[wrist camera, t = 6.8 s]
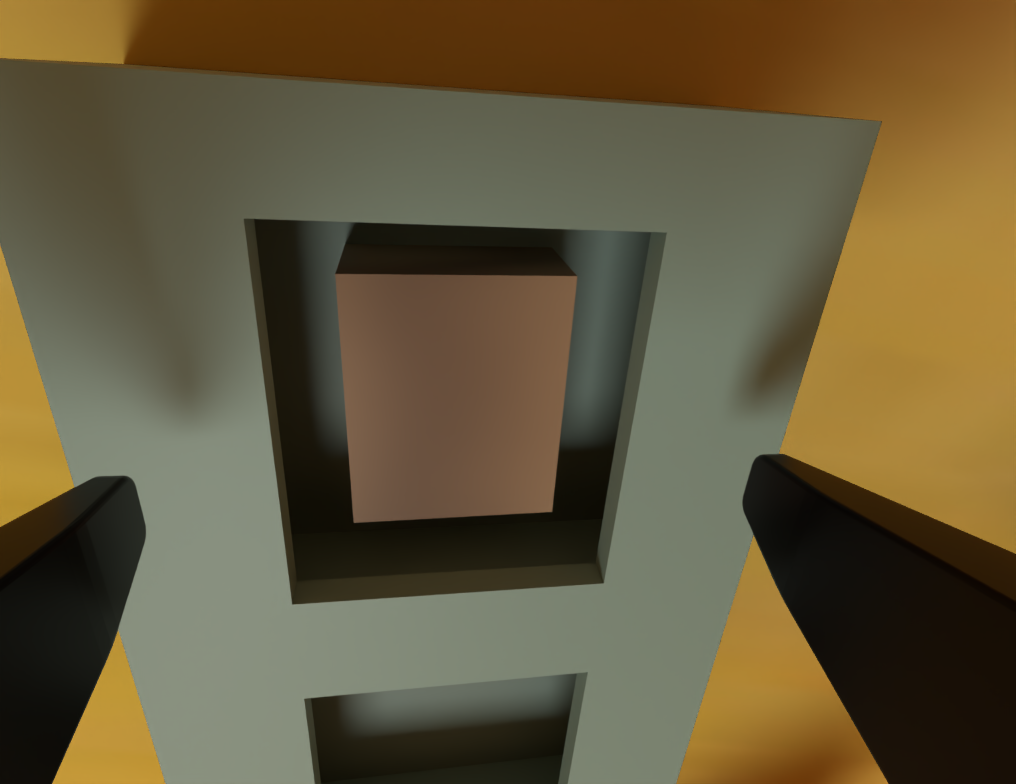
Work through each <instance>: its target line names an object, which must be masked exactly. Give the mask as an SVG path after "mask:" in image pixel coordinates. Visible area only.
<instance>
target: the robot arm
mask: <svg viewBox="0 0 1016 784" xmlns="http://www.w3.org/2000/svg"><path fill="white" fill-rule="evenodd" d="M742 506H743V511H744V514H745V516H746V519H747V521H748V523H749V525H750V528H751V530H752V532H753V534H754V537H755V539H756V541H757V543H758V546H759V548H760V550H761V552H762V555H763V557H764V559H765V561H766V564H767V566H768V568H769V570H770V573H771V575H772V577H773V579H774V582H775V584H776V586H777V588H778V590H779V592H780V594H781V596H782V598H783V600H784V602H785V604H786V605H787V607H788V609H789V611H790V613H791V614H792V616H793V618H794V620H795V621H796V623H797V625H798V627H799V628H800V630H801V632H802V634H803V635H804V637H805V639H806V641H807V642H808V644H809V646H810V647H811V649H812V651H813V653H814V654H815V656H816V658H817V660H818V661H819V663H820V665H821V667H822V668H823V670H824V672H825V674H826V675H827V677H828V679H829V681H830V682H831V684H832V686H833V688H834V689H835V691H836V693H837V695H838V696H839V698H840V700H841V702H842V703H843V705H844V707H845V709H846V710H847V712H848V714H849V715H850V717H851V719H852V721H853V722H854V724H855V726H856V728H857V729H858V731H859V733H860V735H861V736H862V738H863V740H864V742H865V743H866V745H867V747H868V749H869V750H870V752H871V754H872V756H873V757H874V759H875V761H876V763H877V764H878V766H879V768H880V770H881V771H882V773H883V775H884V777H885V778H886V780H887V782H888V784H1016V554H1015V553H1013V552H1010V551H1008V550H1006V549H1003V548H1001V547H999V546H996V545H994V544H992V543H989V542H987V541H985V540H982V539H980V538H978V537H975V536H973V535H971V534H968V533H966V532H964V531H961V530H959V529H957V528H955V527H952V526H950V525H948V524H945V523H943V522H941V521H938V520H936V519H934V518H931V517H929V516H927V515H924V514H922V513H920V512H917V511H915V510H913V509H910V508H908V507H906V506H903V505H901V504H899V503H896V502H894V501H892V500H890V499H887V498H885V497H883V496H880V495H878V494H876V493H873V492H871V491H869V490H866V489H864V488H862V487H859V486H857V485H855V484H852V483H850V482H848V481H845V480H843V479H841V478H838V477H836V476H834V475H832V474H829V473H827V472H825V471H822V470H820V469H818V468H815V467H813V466H811V465H808V464H806V463H804V462H801V461H799V460H797V459H794V458H792V457H790V456H787V455H785V454H762V455H759V456H757V457H756V458H755V459H754V461H753V463H752V466H751V470H750V473H749V477H748V480H747V484H746V487H745V490H744V494H743V499H742ZM145 539H146V524H145V520H144V516H143V512H142V508H141V504H140V500H139V496H138V492H137V488H136V485H135V483H134V481H133V479H132V478H130V477H129V476H125V475H121V476H98V477H94V478H91V479H90V480H88V481H86V482H84V483H82V484H80V485H78V486H76V487H75V488H73V489H71V490H69V491H67V492H65V493H63V494H61V495H60V496H58V497H56V498H54V499H52V500H50V501H48V502H46V503H45V504H43V505H41V506H39V507H37V508H35V509H33V510H31V511H30V512H28V513H26V514H24V515H22V516H20V517H18V518H16V519H14V520H13V521H11V522H9V523H7V524H5V525H3V526H1V527H0V784H52V783H53V780H54V778H55V776H56V774H57V771H58V769H59V767H60V765H61V762H62V760H63V758H64V756H65V753H66V751H67V749H68V747H69V744H70V742H71V740H72V737H73V735H74V733H75V731H76V728H77V726H78V724H79V722H80V719H81V717H82V715H83V713H84V710H85V708H86V706H87V704H88V701H89V699H90V697H91V695H92V692H93V690H94V688H95V686H96V683H97V681H98V679H99V677H100V674H101V672H102V670H103V667H104V665H105V663H106V660H107V658H108V656H109V653H110V651H111V648H112V646H113V643H114V640H115V637H116V634H117V631H118V628H119V625H120V622H121V618H122V615H123V612H124V609H125V606H126V602H127V599H128V596H129V593H130V589H131V586H132V583H133V580H134V576H135V573H136V570H137V567H138V563H139V560H140V557H141V554H142V550H143V547H144V544H145Z"/></svg>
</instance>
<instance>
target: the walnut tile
mask: <svg viewBox="0 0 1016 784" xmlns="http://www.w3.org/2000/svg"><path fill="white" fill-rule="evenodd" d="M335 278H336V291H337V305H338V318H339V332H340V345H341V359H342V372H343V385H344V399H345V412H346V426H347V439H348V453H349V466H350V480H351V493H352V506H353V520H354V523H361V522H379V521H397V520H415V519H433V518H450V517H468V516H486V515H504V514H522V513H540V512H552V508H553V499H554V489H555V480H556V471H557V461H558V452H559V443H560V434H561V424H562V415H563V406H564V396H565V387H566V378H567V369H568V359H569V350H570V341H571V331H572V322H573V313H574V304H575V294H576V285H577V275H576V274H575V273H574V272H573V271H572V269H571V268H570V267H569V266H568V265H567V264H566V263H565V262H564V261H563V259H562V258H561V257H560V256H559V255H558V254H557V253H556V252H555V250H554V249H553V248H552V247H495V246H435V245H375V244H345V246H344V249H343V252H342V255H341V258H340V261H339V264H338V267H337V270H336V273H335Z"/></svg>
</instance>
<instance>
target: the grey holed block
mask: <svg viewBox="0 0 1016 784" xmlns="http://www.w3.org/2000/svg"><path fill="white" fill-rule="evenodd" d="M881 123H882V121H872V120H861V119H850V118H839V117H828V116H817V115H806V114H795V113H784V112H773V111H762V110H751V109H741V108H730V107H718V106H704V105H690V104H676V103H662V102H648V101H634V100H620V99H606V98H592V97H578V96H564V95H550V94H536V93H522V92H508V91H494V90H480V89H466V88H452V87H437V86H423V85H409V84H395V83H381V82H367V81H353V80H339V79H325V78H311V77H297V76H283V75H269V74H255V73H241V72H227V71H213V70H199V69H185V68H171V67H157V66H143V65H129V64H111V63H90V62H69V61H48V60H27V59H6V58H0V245H1V248H2V251H3V254H4V258H5V261H6V264H7V267H8V271H9V274H10V277H11V281H12V284H13V287H14V290H15V294H16V297H17V300H18V303H19V307H20V310H21V313H22V316H23V320H24V323H25V326H26V330H27V333H28V336H29V339H30V343H31V346H32V349H33V352H34V356H35V359H36V362H37V365H38V369H39V372H40V375H41V378H42V382H43V385H44V388H45V392H46V395H47V398H48V401H49V405H50V408H51V411H52V414H53V418H54V421H55V424H56V427H57V431H58V434H59V437H60V440H61V444H62V447H63V450H64V454H65V457H66V460H67V463H68V467H69V470H70V473H71V476H72V480H73V483H74V486H75V487H76V486H78V485H80V484H82V483H84V482H86V481H88V480H90V479H91V478H94V477H98V476H121V475H125V476H129V477H130V478H132V479H133V481H134V483H135V485H136V488H137V492H138V496H139V500H140V504H141V508H142V512H143V516H144V520H145V524H146V539H145V544H144V547H143V550H142V554H141V557H140V560H139V563H138V567H137V570H136V573H135V576H134V580H133V583H132V586H131V589H130V593H129V596H128V599H127V602H126V606H125V609H124V612H123V615H122V618H121V622H120V625H119V628H118V630H119V633H120V636H121V640H122V643H123V646H124V649H125V653H126V656H127V659H128V662H129V666H130V669H131V672H132V675H133V679H134V682H135V685H136V689H137V692H138V695H139V698H140V702H141V705H142V708H143V711H144V715H145V718H146V721H147V724H148V728H149V731H150V734H151V738H152V741H153V744H154V747H155V751H156V754H157V757H158V760H159V764H160V767H161V770H162V773H163V777H164V780H165V783H166V784H676V782H677V779H678V776H679V773H680V769H681V766H682V763H683V760H684V757H685V753H686V750H687V747H688V744H689V741H690V737H691V734H692V731H693V728H694V724H695V721H696V718H697V715H698V712H699V708H700V705H701V702H702V699H703V695H704V692H705V689H706V686H707V683H708V679H709V676H710V673H711V670H712V667H713V663H714V660H715V657H716V654H717V650H718V647H719V644H720V641H721V638H722V634H723V631H724V628H725V625H726V621H727V618H728V615H729V612H730V609H731V605H732V602H733V599H734V596H735V593H736V589H737V586H738V583H739V580H740V576H741V573H742V570H743V567H744V564H745V560H746V557H747V554H748V551H749V548H750V544H751V541H752V538H753V535H754V534H753V532H752V530H751V528H750V525H749V523H748V521H747V519H746V516H745V514H744V511H743V506H742V499H743V494H744V490H745V487H746V484H747V480H748V477H749V473H750V470H751V466H752V463H753V461H754V459H755V458H756V457H757V456H759V455H762V454H779V451H780V448H781V445H782V441H783V438H784V435H785V432H786V428H787V425H788V422H789V419H790V416H791V412H792V409H793V406H794V403H795V400H796V396H797V393H798V390H799V387H800V383H801V380H802V377H803V374H804V371H805V367H806V364H807V361H808V358H809V354H810V351H811V348H812V345H813V342H814V338H815V335H816V332H817V329H818V326H819V322H820V319H821V316H822V313H823V309H824V306H825V303H826V300H827V297H828V293H829V290H830V287H831V284H832V281H833V277H834V274H835V271H836V268H837V264H838V261H839V258H840V255H841V252H842V248H843V245H844V242H845V239H846V235H847V232H848V229H849V226H850V223H851V219H852V216H853V213H854V210H855V207H856V203H857V200H858V197H859V194H860V190H861V187H862V184H863V181H864V178H865V174H866V171H867V168H868V165H869V161H870V158H871V155H872V152H873V149H874V145H875V142H876V139H877V136H878V133H879V129H880V126H881ZM345 244H375V245H435V246H495V247H552V248H553V249H554V250H555V252H556V253H557V254H558V255H559V256H560V257H561V258H562V259H563V261H564V262H565V263H566V264H567V265H568V266H569V267H570V268H571V269H572V271H573V272H574V273H575V274H576V275H577V285H576V294H575V304H574V313H573V322H572V331H571V341H570V350H569V359H568V369H567V378H566V387H565V396H564V406H563V415H562V424H561V434H560V443H559V452H558V461H557V471H556V480H555V489H554V499H553V508H552V512H540V513H522V514H504V515H486V516H468V517H450V518H433V519H415V520H397V521H379V522H361V523H354V520H353V506H352V493H351V480H350V466H349V453H348V439H347V426H346V412H345V399H344V385H343V372H342V359H341V345H340V332H339V318H338V305H337V291H336V278H335V273H336V270H337V267H338V264H339V261H340V258H341V255H342V252H343V249H344V246H345Z"/></svg>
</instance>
